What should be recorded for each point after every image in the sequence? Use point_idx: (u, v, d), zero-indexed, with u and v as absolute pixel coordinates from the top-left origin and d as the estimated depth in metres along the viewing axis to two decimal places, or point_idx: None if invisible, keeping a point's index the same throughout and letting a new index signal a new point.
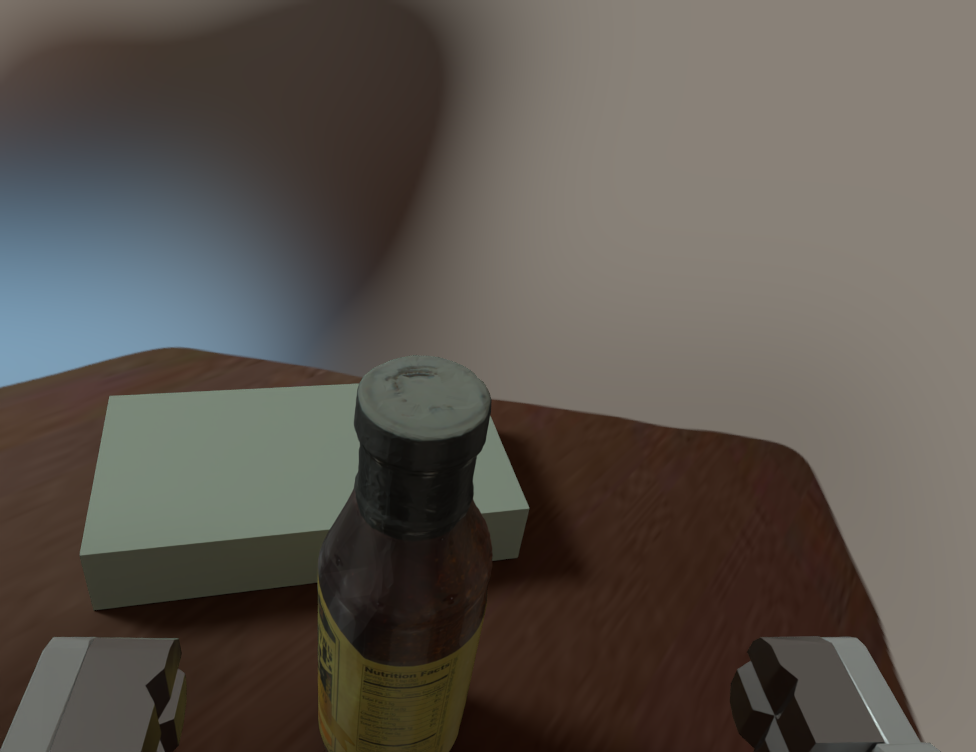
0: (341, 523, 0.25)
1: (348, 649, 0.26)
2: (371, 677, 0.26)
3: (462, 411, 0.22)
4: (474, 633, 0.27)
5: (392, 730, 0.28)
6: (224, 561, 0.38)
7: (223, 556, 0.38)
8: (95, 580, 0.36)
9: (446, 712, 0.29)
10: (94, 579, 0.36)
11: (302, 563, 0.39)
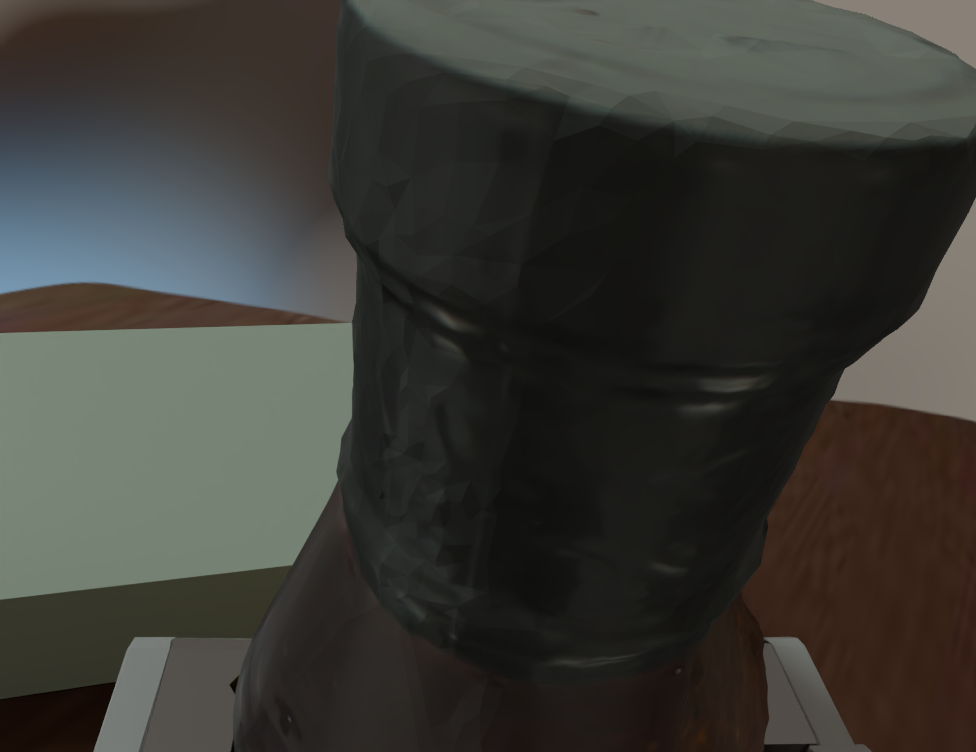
0: (297, 595, 0.08)
1: None
2: None
3: (891, 63, 0.04)
4: None
5: None
6: (104, 626, 0.20)
7: (100, 616, 0.20)
8: None
9: None
10: None
11: (255, 625, 0.21)
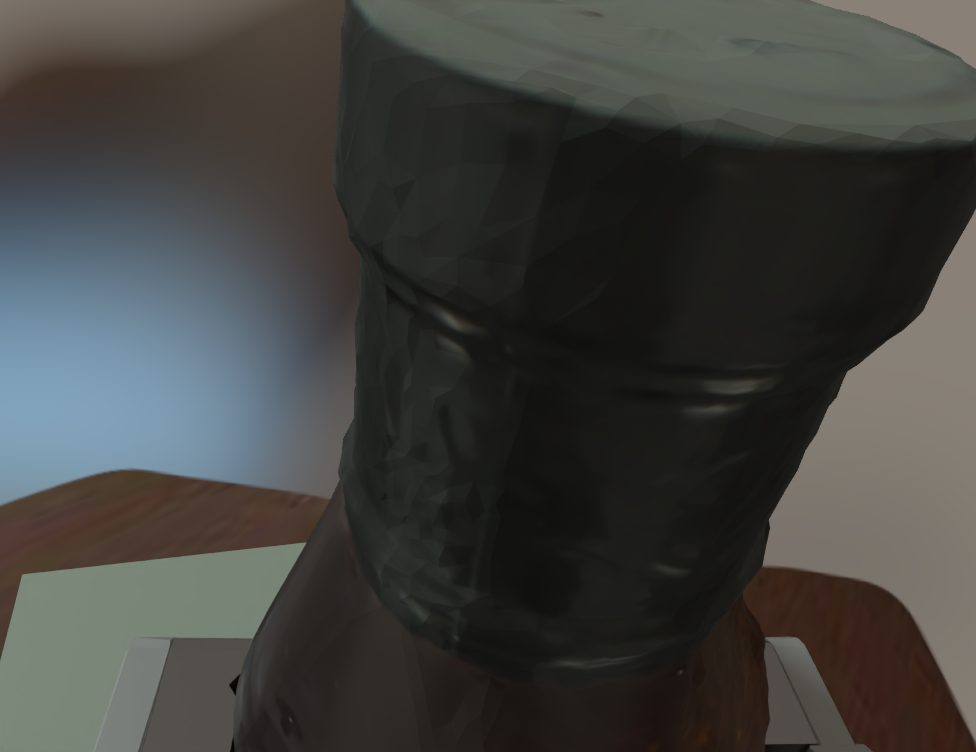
0: (298, 596, 0.08)
1: None
2: None
3: (895, 65, 0.04)
4: None
5: None
6: None
7: None
8: None
9: None
10: None
11: None
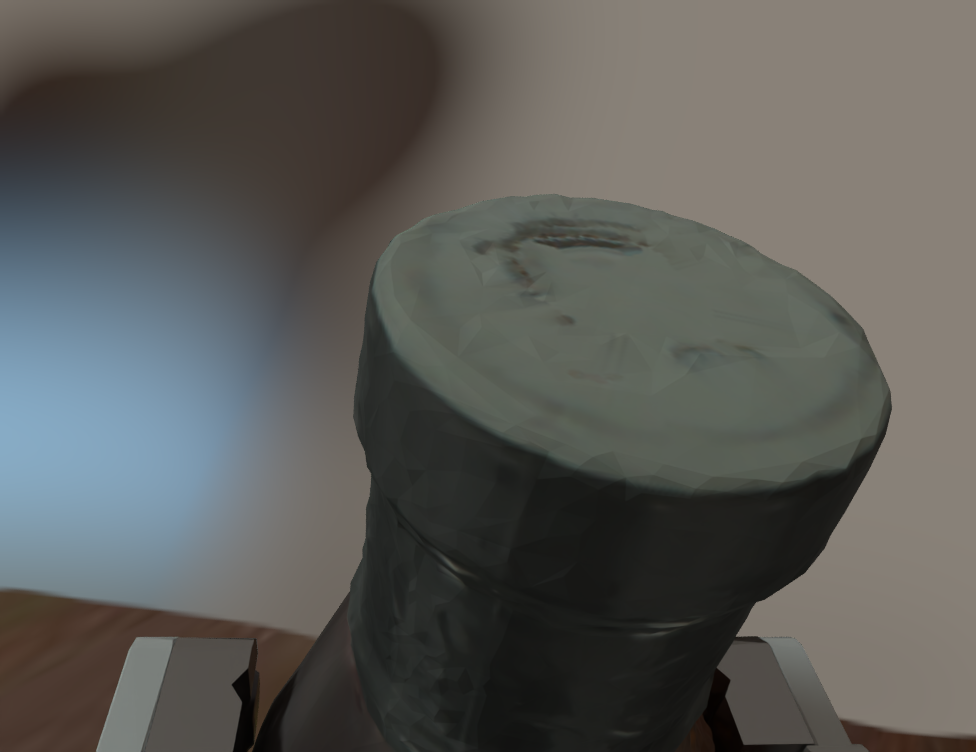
0: (307, 711, 0.09)
1: None
2: None
3: (801, 367, 0.05)
4: None
5: None
6: None
7: None
8: None
9: None
10: None
11: None
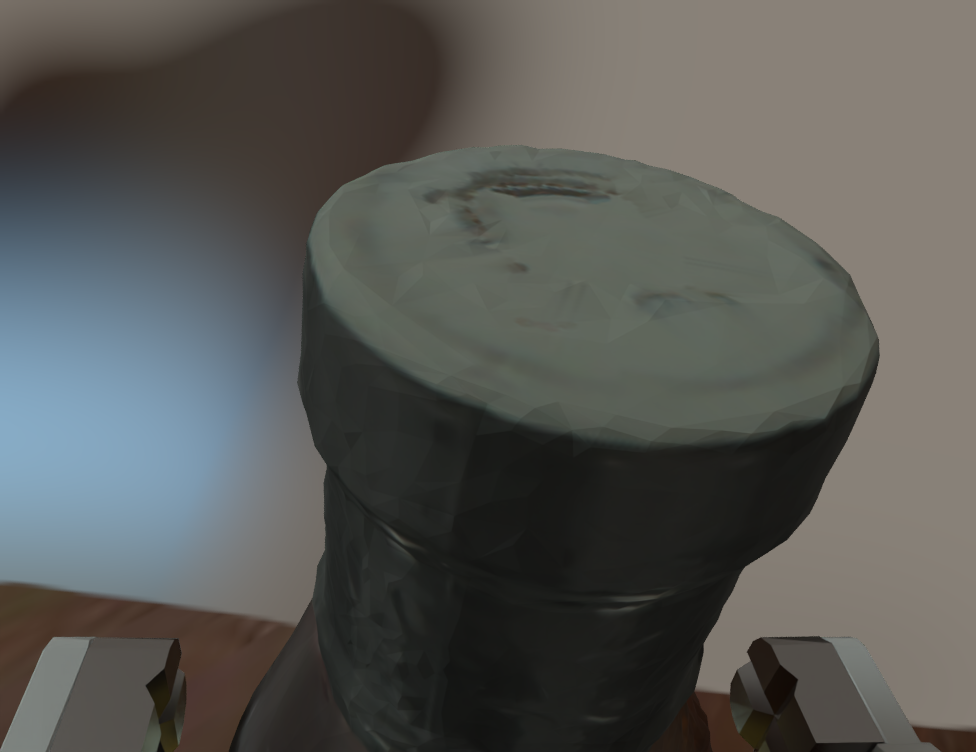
0: (278, 702, 0.08)
1: None
2: None
3: (779, 313, 0.05)
4: None
5: None
6: None
7: None
8: None
9: None
10: None
11: None
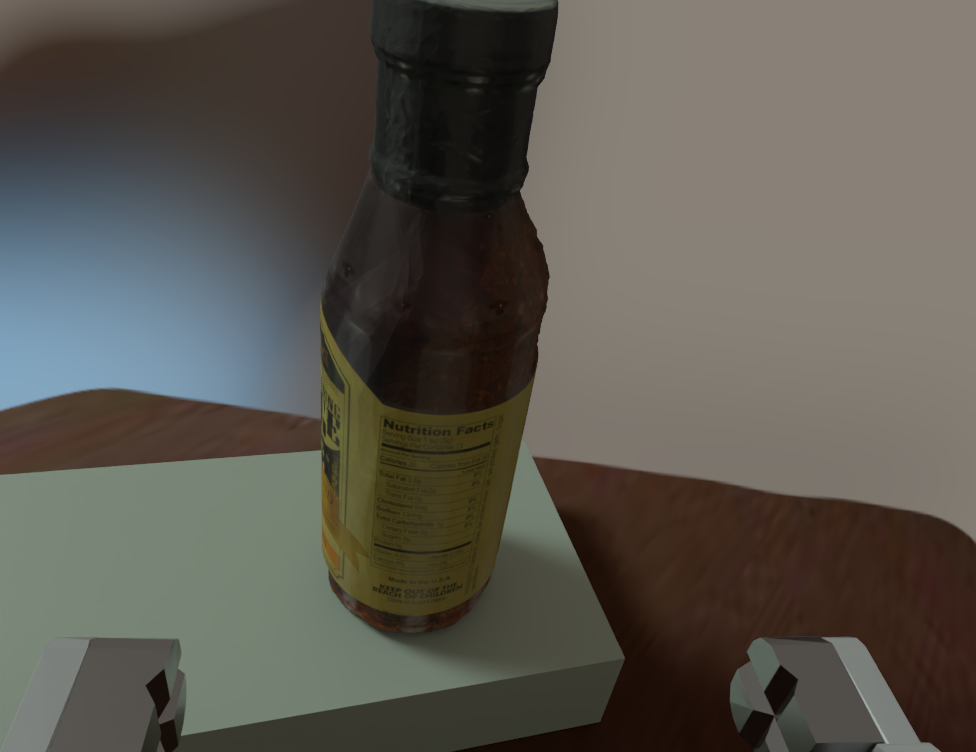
0: (351, 219, 0.19)
1: (361, 396, 0.20)
2: (391, 435, 0.20)
3: None
4: (524, 387, 0.21)
5: (418, 527, 0.22)
6: None
7: None
8: None
9: (485, 509, 0.23)
10: None
11: None
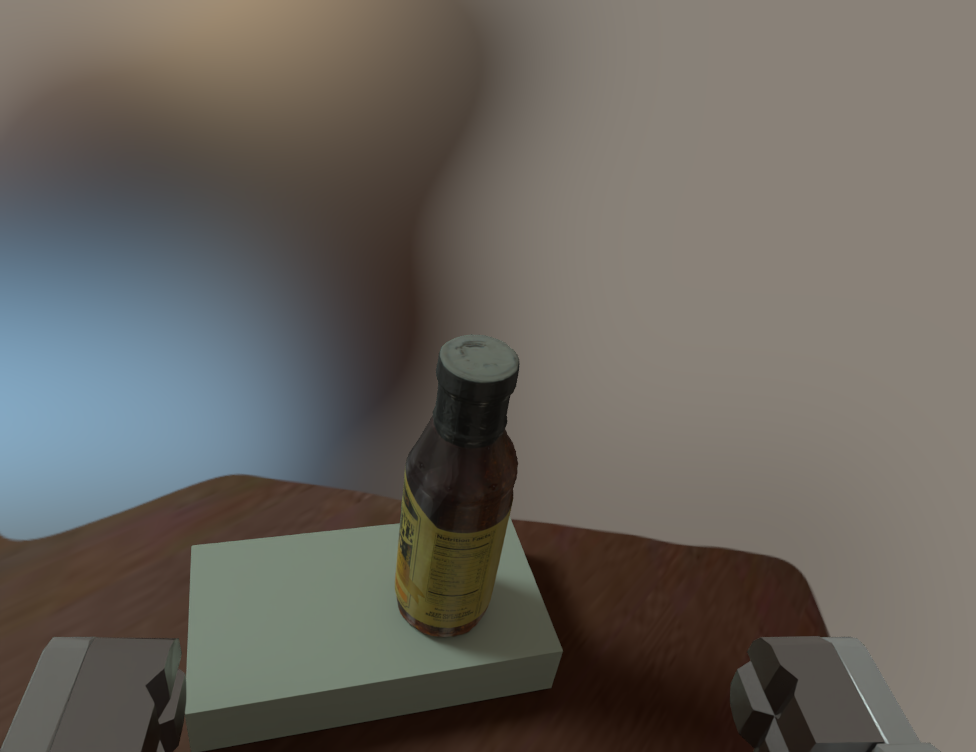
0: (423, 441, 0.40)
1: (426, 523, 0.41)
2: (440, 542, 0.41)
3: (502, 366, 0.37)
4: (505, 515, 0.42)
5: (451, 583, 0.43)
6: (303, 709, 0.44)
7: (302, 705, 0.44)
8: (195, 731, 0.42)
9: (485, 573, 0.44)
10: (194, 730, 0.42)
11: (368, 706, 0.45)
